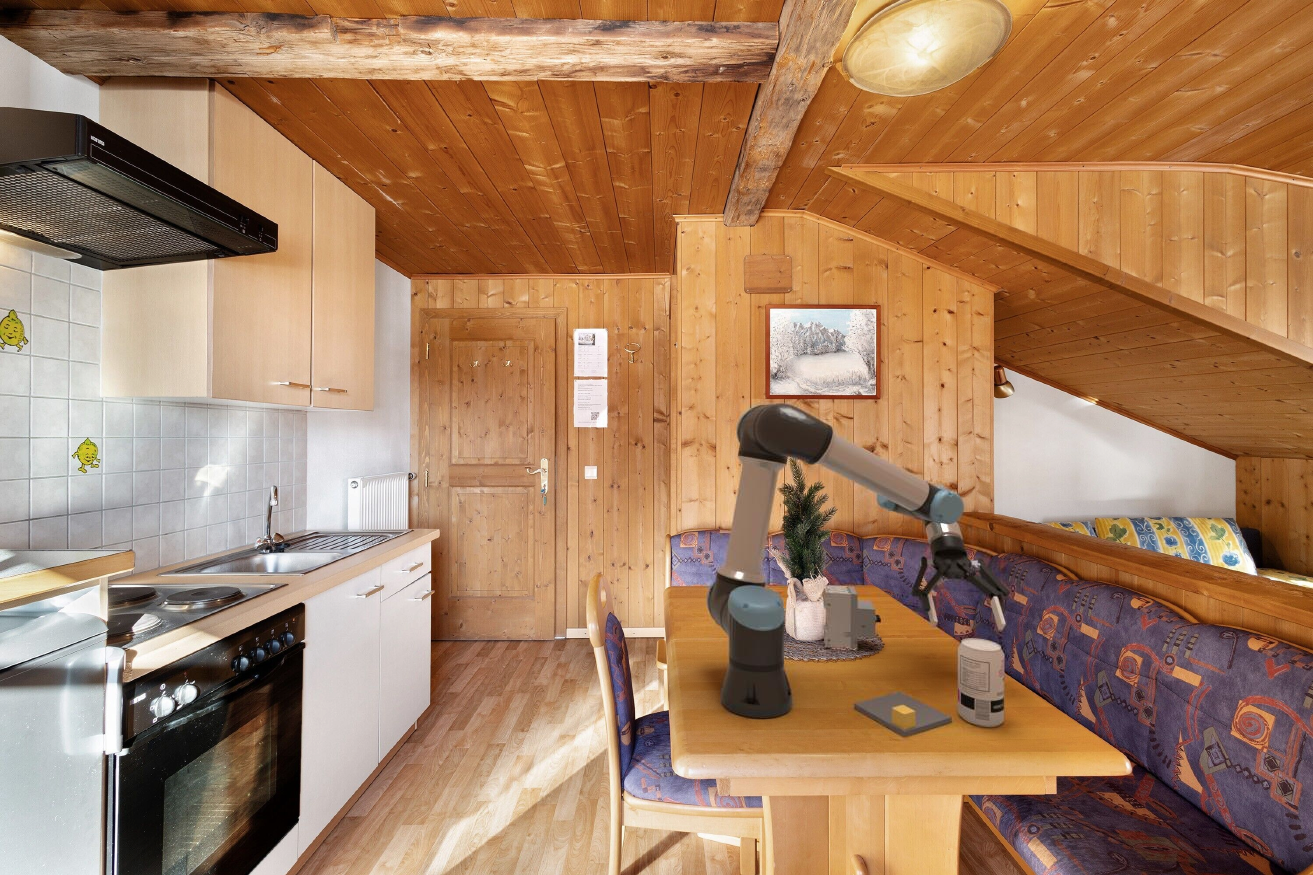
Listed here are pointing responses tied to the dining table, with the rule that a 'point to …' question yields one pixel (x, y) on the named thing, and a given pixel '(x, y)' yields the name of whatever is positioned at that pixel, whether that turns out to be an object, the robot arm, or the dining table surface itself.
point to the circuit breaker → (847, 617)
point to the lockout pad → (902, 699)
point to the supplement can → (981, 682)
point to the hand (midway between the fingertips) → (968, 625)
